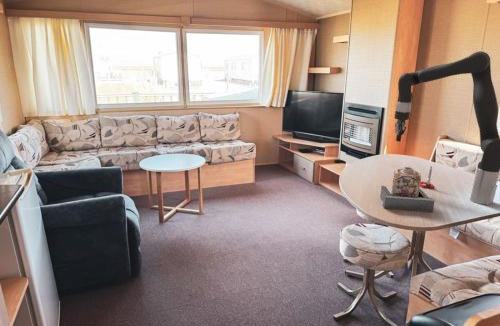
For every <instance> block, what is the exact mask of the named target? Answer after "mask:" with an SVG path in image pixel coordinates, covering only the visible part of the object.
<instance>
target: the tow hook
mask: <svg viewBox="0 0 500 326" xmlns="http://www.w3.org/2000/svg"><path fill="white" fill-rule="evenodd" d="M432 172H433V165H430V169H429V171H428V177H427V180H426V181H421V183H420V187H421V188H426V189H435V185H434V184H433V183H431V178H432Z"/></svg>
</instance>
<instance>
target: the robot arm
mask: <svg viewBox="0 0 500 326" xmlns="http://www.w3.org/2000/svg"><path fill="white" fill-rule="evenodd" d="M491 70H492V69H491V56H490V55H489V53H487V52H485V51H475V52H473V53H472V54H470V55H469V56H466V57H464V58H462V59H460V60H459V59H458V60H456V61H453V62H449V63H443V64H438V65H437V64H436V65H432V66H429V67H426V68H425V67H424V68H422V69H420V70H417V71H413V72H405V73H403V74H401V75H400V77H399V79H398V81H397V82H398V83H397V85H398V88H397V90H398V96H397V102H396V106H395V111H394V119H395V120H397V121H396V122H395V125H394V126H395V134H396V138H395V142H400V143H401V141H402V136H403V135H404V134H405V131H406V129H407V126H406V125H407V124H406V121H407V120H409V119H410V117H411V116H410V115H411V110H412V99H413V92H412V86H416V85H419V84H423V83H428V82H433V81H437V80H440V79H443V78H448V77H453V76H457V75H464V74H465V75H466V74H471V78H472V82H473V83H472V84H473V87H472V88H473V89H472V103H473V108H474V114H475V118H476V121H477V124H478V128H479V129H478V130H479V141H480V149H481V152H483V153H482V157H481V160H480V161H479V162H478V163H477V168H476V173H475V177H474V180H473V184H472V185H473V186H472V188H471V193H470V198H469V200H470V201H471V202H473V203H477V204H479V205H486V206H490V205H492V204H493V203H494V200H495V196H496V192H497V188H498V184H497V182H498V180H499V179H498V178H499V176H500V135H499V131H498V116H499V106H498V98H497V96H496V95H497V94H496V91H495V87H494V83H493V81H492V74H491V73H492V71H491Z"/></svg>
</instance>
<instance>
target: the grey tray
mask: <svg viewBox="0 0 500 326" xmlns="http://www.w3.org/2000/svg"><path fill="white" fill-rule="evenodd" d="M391 193H392V192H391V191H389V189H388V188H387V186H385V185H381V189H380V194H379V195H380V196H379V197H380V199H381V201H382V208H383V209H386V210H397V211H398V210H399V211H412V212H425V213H433V211H434V206H435V201H436V199H435V198H432V197H429V196H428V195H427V194H426V193H425V192H424V191H423V190H422V189H421V188H419V194H418V197H411V196H397V195H391Z"/></svg>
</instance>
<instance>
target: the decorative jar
mask: <svg viewBox="0 0 500 326" xmlns="http://www.w3.org/2000/svg"><path fill="white" fill-rule="evenodd" d="M421 177H422V175H421V173H420V172H419V171H416V170H415V169H414V168H413V167H410V166H404V167H403V168H398V169H395V170H394V173H393V179H392V185H391V192H390V193H391V195H397V196H411V197H418V194H419V189H421V188H420V187H421V186H420V183H421V182H422V179H421Z"/></svg>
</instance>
